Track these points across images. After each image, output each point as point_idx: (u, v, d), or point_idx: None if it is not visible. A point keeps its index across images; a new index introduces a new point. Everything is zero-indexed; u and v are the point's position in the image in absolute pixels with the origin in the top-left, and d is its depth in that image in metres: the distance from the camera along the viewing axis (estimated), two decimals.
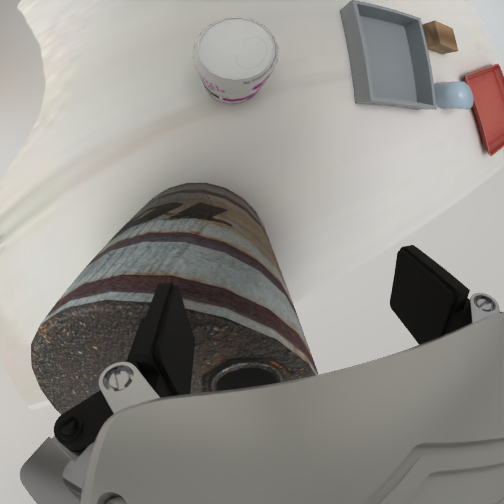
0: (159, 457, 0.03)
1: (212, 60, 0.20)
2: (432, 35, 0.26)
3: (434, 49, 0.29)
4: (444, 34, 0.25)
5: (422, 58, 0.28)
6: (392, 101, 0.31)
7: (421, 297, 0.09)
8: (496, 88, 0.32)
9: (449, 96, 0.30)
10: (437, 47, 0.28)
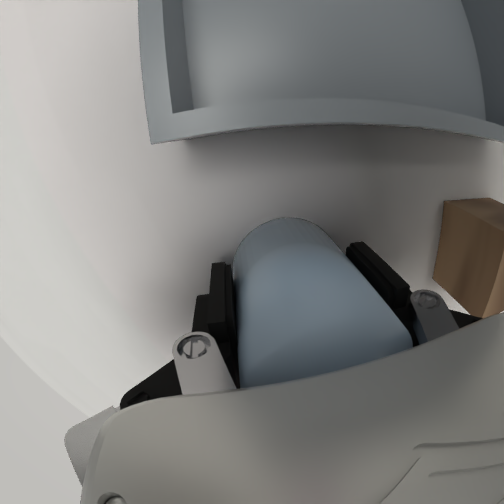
0: (159, 457, 0.03)
1: None
2: (503, 217, 0.09)
3: (451, 239, 0.12)
4: None
5: None
6: None
7: None
8: None
9: (291, 280, 0.07)
10: (472, 240, 0.10)
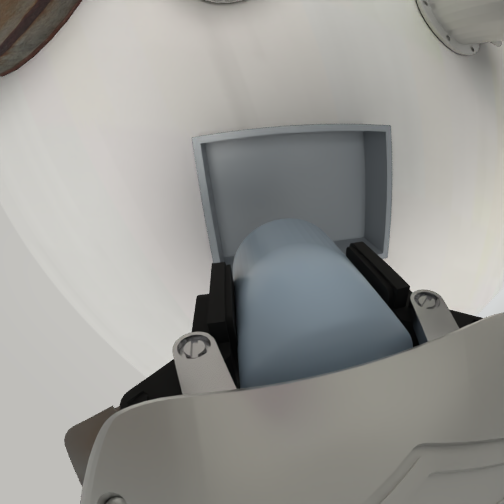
0: (159, 457, 0.03)
1: None
2: None
3: None
4: None
5: None
6: (201, 184, 0.21)
7: None
8: None
9: (292, 281, 0.07)
10: None
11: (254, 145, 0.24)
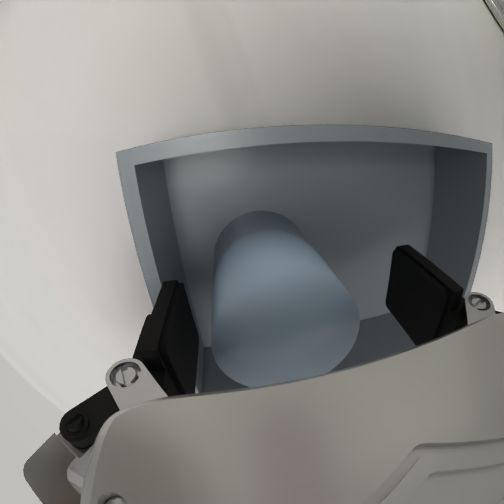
0: (159, 457, 0.03)
1: None
2: None
3: None
4: None
5: (347, 359, 0.15)
6: (142, 256, 0.09)
7: (416, 296, 0.09)
8: None
9: (254, 253, 0.09)
10: None
11: (257, 162, 0.13)
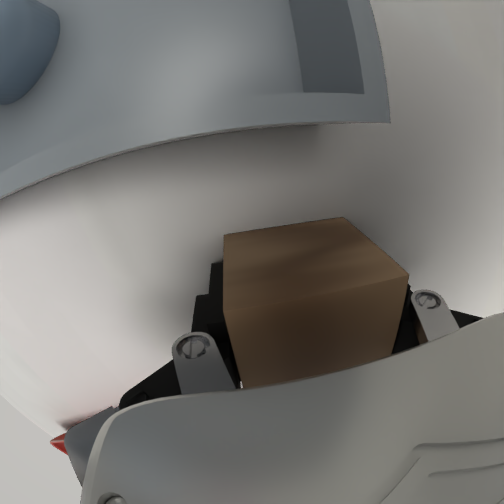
0: (159, 457, 0.03)
1: None
2: (298, 263, 0.08)
3: None
4: (327, 346, 0.07)
5: None
6: None
7: None
8: None
9: None
10: None
11: None
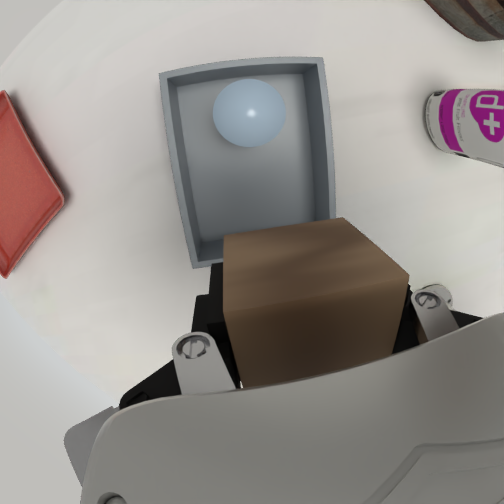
0: (159, 457, 0.03)
1: None
2: (298, 263, 0.08)
3: None
4: (327, 346, 0.07)
5: (183, 176, 0.22)
6: (277, 59, 0.17)
7: None
8: None
9: None
10: None
11: (298, 117, 0.23)
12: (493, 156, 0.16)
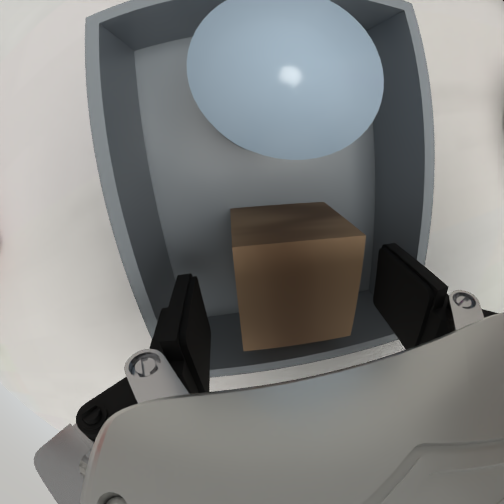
0: (159, 457, 0.03)
1: None
2: (286, 225, 0.11)
3: None
4: (304, 285, 0.10)
5: (138, 225, 0.10)
6: None
7: (401, 294, 0.09)
8: None
9: None
10: None
11: None
12: None
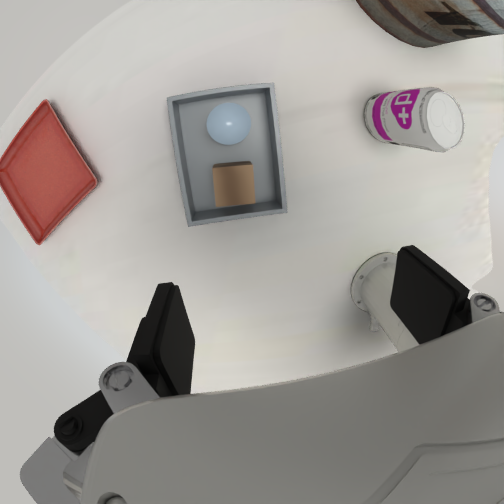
0: (159, 457, 0.03)
1: (457, 113, 0.22)
2: (230, 164, 0.34)
3: None
4: (234, 180, 0.33)
5: (183, 165, 0.33)
6: (242, 86, 0.28)
7: (421, 297, 0.09)
8: (34, 208, 0.35)
9: None
10: None
11: (261, 123, 0.35)
12: (410, 140, 0.27)
